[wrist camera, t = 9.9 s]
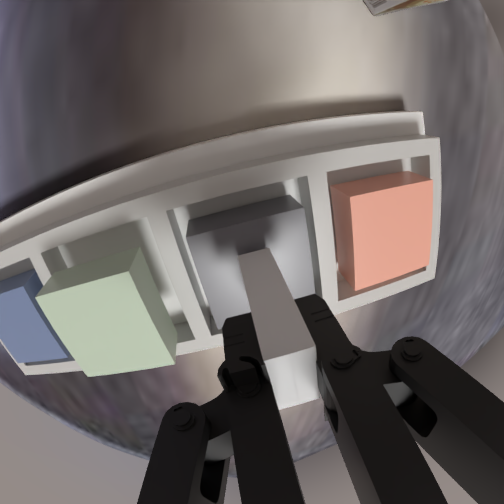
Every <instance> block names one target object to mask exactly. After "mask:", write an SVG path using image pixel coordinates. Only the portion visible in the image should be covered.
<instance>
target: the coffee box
mask: <svg viewBox="0 0 504 504" xmlns="http://www.w3.org/2000/svg"><path fill="white" fill-rule="evenodd" d="M363 1H364V2H365V4H366V5H367V7H368V8H369V10H370V11H371V13H372V14H373V15H374V16H380V15H384V14H388V13H392V12H396V11H400V10H405V9H409V8H414V7H419V6H424V5H429V4H435V3H441V2H445V1H448V0H363Z"/></svg>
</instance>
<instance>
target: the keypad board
mask: <svg viewBox="0 0 504 504" xmlns="http://www.w3.org/2000/svg"><path fill="white" fill-rule="evenodd" d="M403 171H410V172H413V173H416V174H419V175H422V176H424V177H427V178H430V179H433V216H432V235H431V249H430V259H429V265H428V266H425V267H422V268H420V269H417V270H414V271H412V272H409V273H406V274H403V275H401V276H398V277H395V278H392V279H389V280H386V281H384V282H381V283H378V284H375V285H372V286H369V287H366V288H363V289H360V290H357V291H355V290H354V289H353V288H352V287H351V285H350V284H349V283H348V282H347V280H346V279H345V278H344V277H343V276H342V274H341V273H340V272H339V271H338V258H337V245H336V234H335V224H334V214H333V205H332V197H331V188H330V185H335V184H340V183H345V182H350V181H355V180H360V179H365V178H370V177H375V176H381V175H386V174H391V173H397V172H403ZM285 195H291V196H292V197H293V198H294V199H295V200H296V201H297V202H299V203H300V204H301V205H302V206H303V207H304V210H305V217H306V224H307V231H308V238H309V245H310V253H311V261H312V269H313V277H314V286H315V294H316V295H318V296H319V297H321V298H323V299H324V300H325V301H326V303H327V305H328V306H329V308H330V310H331V311H332V313H333V314H334V315H336V314H339V313H342V312H345V311H348V310H351V309H354V308H357V307H360V306H363V305H365V304H368V303H371V302H374V301H377V300H379V299H382V298H385V297H388V296H390V295H393V294H396V293H398V292H401V291H404V290H406V289H409V288H411V287H414V286H416V285H419V284H421V283H424V282H426V281H429V280H431V279H434V278H435V271H436V263H437V254H438V244H439V231H440V214H441V155H440V138H439V137H434V136H428V135H425V130H424V120H423V112H419V111H389V112H374V113H362V114H351V115H342V116H333V117H326V118H318V119H311V120H304V121H298V122H292V123H286V124H280V125H275V126H270V127H264V128H259V129H254V130H250V131H245V132H240V133H236V134H232V135H227V136H223V137H219V138H215V139H211V140H207V141H203V142H199V143H196V144H192V145H188V146H185V147H181V148H178V149H175V150H171V151H168V152H165V153H161V154H158V155H155V156H152V157H149V158H146V159H143V160H140V161H137V162H134V163H131V164H128V165H125V166H122V167H120V168H117V169H114V170H111V171H109V172H106V173H103V174H101V175H98V176H96V177H93V178H91V179H88V180H86V181H83V182H81V183H78V184H76V185H74V186H71V187H69V188H67V189H64V190H62V191H60V192H58V193H55V194H53V195H51V196H49V197H47V198H45V199H43V200H40V201H38V202H36V203H34V204H32V205H30V206H28V207H26V208H24V209H22V210H20V211H18V212H16V213H14V214H13V215H11V216H9V217H7V218H5V219H3V220H1V221H0V281H2V280H4V279H7V278H10V277H12V276H15V275H18V274H20V273H23V272H26V271H29V270H31V269H34V268H35V270H36V272H37V274H38V276H39V278H40V280H41V282H42V284H43V286H44V285H45V284H46V282H47V281H48V280H49V278H50V277H51V276H52V275H53V273H55V272H58V271H61V270H64V269H67V268H71V267H74V266H77V265H80V264H83V263H87V262H90V261H93V260H96V259H100V258H103V257H106V256H109V255H113V254H116V253H120V252H123V251H126V250H130V249H133V248H137V247H141V250H142V253H143V255H144V258H145V260H146V263H147V265H148V268H149V270H150V272H151V275H152V277H153V280H154V282H155V284H156V287H157V289H158V291H159V294H160V296H161V298H162V300H163V303H164V305H165V307H166V309H167V311H168V314H169V316H170V318H171V320H172V322H173V324H174V327H175V329H176V331H177V333H178V334H177V346H176V356H177V355H182V354H187V353H192V352H197V351H201V350H206V349H211V348H215V347H219V346H224V344H223V335H222V329H218V328H217V326H216V323H215V320H214V318H213V315H212V312H211V309H210V307H209V304H208V301H207V298H206V296H205V293H204V290H203V287H202V284H201V282H200V279H199V276H198V273H197V270H196V267H195V264H194V261H193V258H192V255H191V252H190V249H189V246H188V243H187V240H186V232H187V226H188V220H190V219H194V218H198V217H201V216H205V215H209V214H213V213H216V212H220V211H224V210H228V209H232V208H236V207H240V206H244V205H248V204H252V203H256V202H260V201H264V200H268V199H273V198H277V197H281V196H285ZM0 342H1V343H2V344H3V342H2V341H1V339H0ZM3 346H4V347H5V349H6V350H7V351H8V349H7V348H6V346H5V345H4V344H3ZM8 353H9V354H10V356H11V357H12V358H13V360H14V361H15V362H16V364H17V365H18V366H19V367H20V369H21V370H22V371H23V372H24V374H25V375H36V374H49V373H61V372H71V371H80V370H82V369H81V367H80V366H79V365H78V363H77V362H76V361H75V359H74V358H73V356H72V355H71V354H69V356H68V358H61V359H53V360H45V361H36V362H26V363H17V361H16V360H15V359H14V357H13V356H12V355H11V353H10V352H9V351H8Z"/></svg>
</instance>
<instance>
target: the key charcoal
mask: <svg viewBox="0 0 504 504" xmlns="http://www.w3.org/2000/svg"><path fill="white" fill-rule="evenodd" d="M186 240H187V243H188V246H189V249H190V252H191V255H192V258H193V261H194V264H195V267H196V270H197V273H198V276H199V279H200V282H201V284H202V287H203V290H204V293H205V296H206V298H207V301H208V304H209V307H210V309H211V312H212V315H213V318H214V320H215V323H216V326H217V328H218V329H222V327H223V324H224V322H225V320H226V318H229V317H233V316H237V315H241V314H245V313H249V312H251V310H250V306H249V302H248V298H247V294H246V289H245V285H244V281H243V277H242V273H241V269H240V265H239V260H238V256H239V255H242V254H246V253H250V252H254V251H258V250H262V249H266V248H269V249H270V251H271V253H272V255H273V257H274V259H275V261H276V263H277V265H278V267H279V269H280V271H281V273H282V276H283V278H284V280H285V282H286V284H287V286H288V288H289V290H290V292H291V294H292V296H293V299H297V298H301V297H304V296H308V295H311V294H315V286H314V277H313V269H312V261H311V253H310V245H309V238H308V231H307V224H306V217H305V210H304V207H303V206H302V205H301V204H300V203H299V202H297V201H296V200H295V199H294V198H293V197H292V196H291V195H285V196H281V197H277V198H273V199H268V200H264V201H260V202H256V203H252V204H248V205H244V206H240V207H236V208H232V209H228V210H224V211H220V212H216V213H213V214H209V215H205V216H201V217H198V218H194V219H190V220H188V226H187V232H186Z"/></svg>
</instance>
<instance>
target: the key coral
mask: <svg viewBox="0 0 504 504" xmlns="http://www.w3.org/2000/svg"><path fill="white" fill-rule="evenodd" d="M330 188H331V197H332V205H333V214H334V224H335V234H336V245H337V258H338V271H339V272H340V273H341V274H342V276H343V277H344V278H345V279H346V280H347V282H348V283H349V284H350V285H351V287H352V288H353V289H354V290H355V291H357V290H360V289H363V288H366V287H369V286H372V285H375V284H378V283H381V282H384V281H386V280H389V279H392V278H395V277H398V276H401V275H403V274H406V273H409V272H412V271H414V270H417V269H420V268H422V267H425V266H428V265H429V259H430V249H431V235H432V216H433V179H430V178H427V177H424V176H422V175H419V174H416V173H413V172H410V171H403V172H397V173H391V174H386V175H381V176H375V177H370V178H365V179H360V180H355V181H350V182H345V183H340V184H335V185H330Z"/></svg>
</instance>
